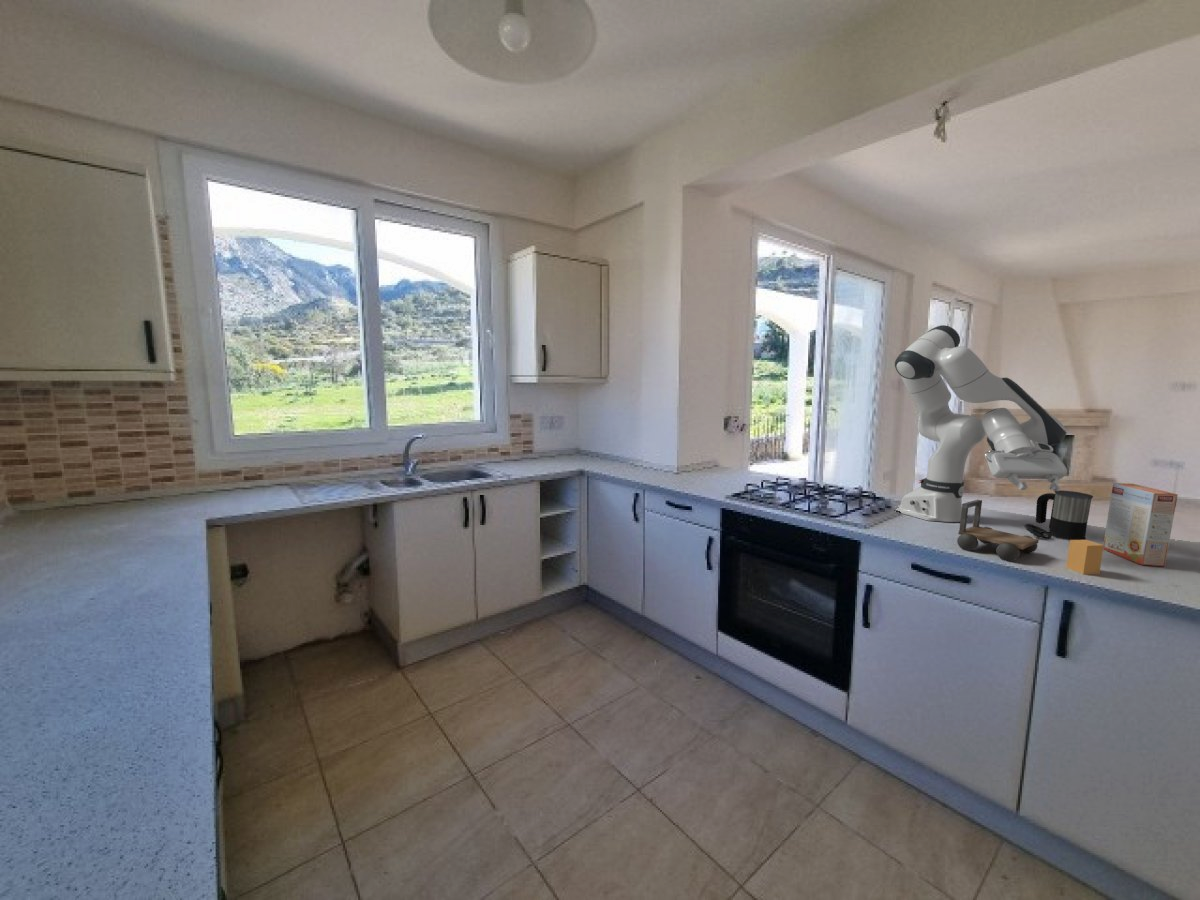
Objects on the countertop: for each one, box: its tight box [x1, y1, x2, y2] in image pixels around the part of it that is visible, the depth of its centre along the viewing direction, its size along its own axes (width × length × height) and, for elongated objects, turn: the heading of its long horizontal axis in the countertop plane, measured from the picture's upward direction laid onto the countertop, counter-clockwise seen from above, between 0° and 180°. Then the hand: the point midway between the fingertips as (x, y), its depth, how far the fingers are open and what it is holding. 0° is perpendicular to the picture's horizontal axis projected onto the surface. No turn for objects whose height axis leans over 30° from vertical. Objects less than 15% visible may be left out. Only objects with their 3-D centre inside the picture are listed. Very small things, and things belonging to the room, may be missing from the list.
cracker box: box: [1102, 482, 1179, 567], centre depth 143 cm, size 14×6×21 cm, turn 168°
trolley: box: [956, 499, 1039, 562], centre depth 148 cm, size 16×14×14 cm
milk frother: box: [1024, 489, 1094, 541], centre depth 162 cm, size 14×16×15 cm
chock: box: [1065, 539, 1104, 575], centre depth 134 cm, size 5×5×8 cm
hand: (1039, 489), depth 143 cm, fingers open, 8 cm apart
